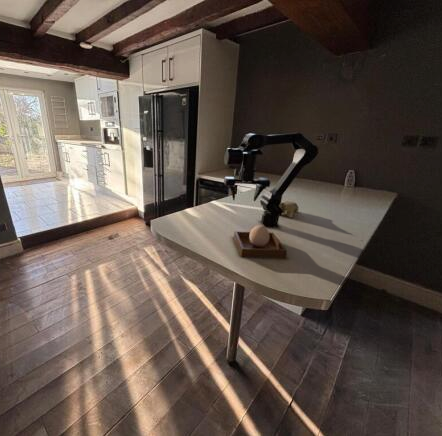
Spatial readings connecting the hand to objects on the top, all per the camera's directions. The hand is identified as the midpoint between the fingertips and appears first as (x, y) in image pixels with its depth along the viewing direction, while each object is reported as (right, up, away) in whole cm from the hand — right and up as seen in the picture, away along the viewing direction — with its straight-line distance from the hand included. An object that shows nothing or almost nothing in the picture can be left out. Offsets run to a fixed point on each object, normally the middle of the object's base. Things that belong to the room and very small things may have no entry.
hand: (243, 200), depth 103 cm
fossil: (+29, -5, +22) cm, 37 cm away
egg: (+1, -19, -15) cm, 24 cm away
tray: (+1, -19, -15) cm, 24 cm away
